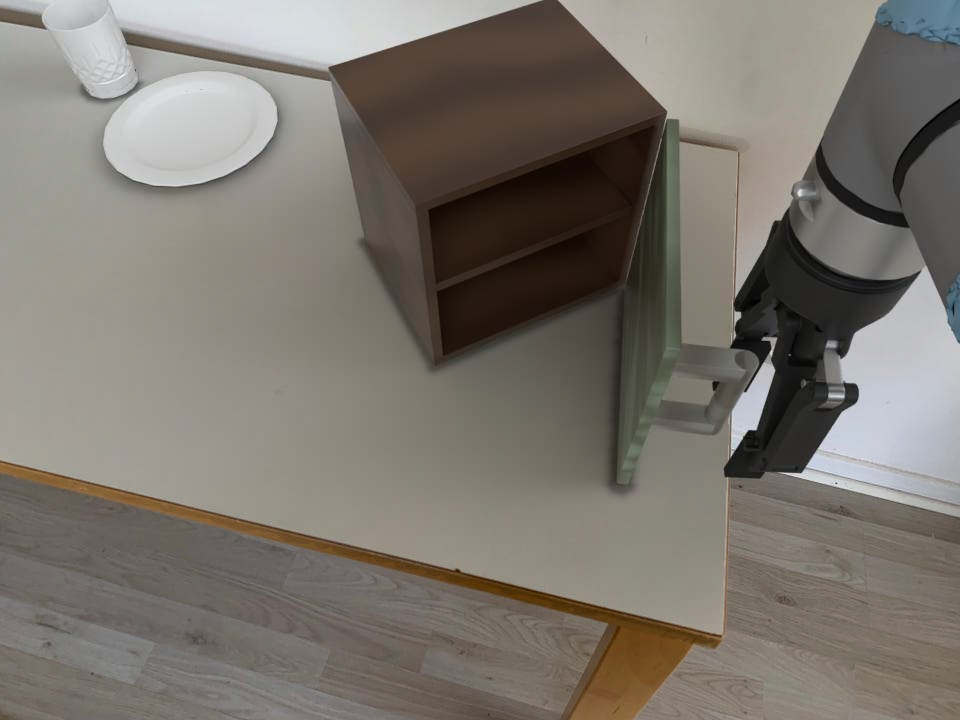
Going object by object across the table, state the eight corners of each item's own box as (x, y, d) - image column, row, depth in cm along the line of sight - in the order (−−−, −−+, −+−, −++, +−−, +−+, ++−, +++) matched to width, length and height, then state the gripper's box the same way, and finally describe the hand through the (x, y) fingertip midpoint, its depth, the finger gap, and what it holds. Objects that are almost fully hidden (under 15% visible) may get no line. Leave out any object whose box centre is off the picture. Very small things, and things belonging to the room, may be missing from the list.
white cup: (89, 110, 93) (49, 38, 84) (74, 76, 96) (34, 4, 88) (150, 89, 95) (117, 17, 86) (133, 57, 98) (100, -15, 90)
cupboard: (625, 284, 77) (668, 111, 58) (434, 366, 71) (415, 204, 53) (540, 176, 85) (554, -4, 67) (365, 242, 80) (327, 66, 62)
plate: (243, 207, 83) (238, 196, 82) (76, 182, 86) (69, 171, 84) (303, 91, 94) (301, 79, 93) (154, 72, 97) (149, 60, 95)
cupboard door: (696, 295, 75) (762, 125, 57) (701, 494, 64) (786, 360, 45) (624, 288, 76) (666, 117, 58) (616, 483, 64) (665, 348, 46)
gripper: (757, 108, 44) (676, 325, 64) (821, 390, 34) (701, 548, 53) (883, 111, 44) (763, 328, 64) (987, 397, 34) (805, 554, 53)
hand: (735, 428), depth 58 cm, fingers open, 7 cm apart
